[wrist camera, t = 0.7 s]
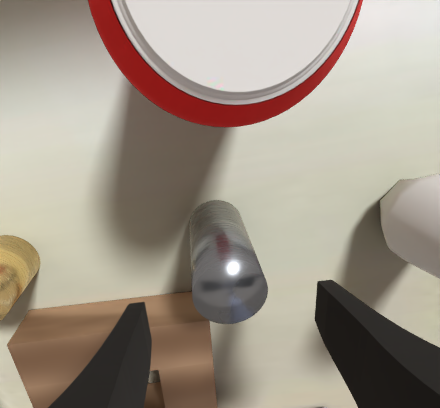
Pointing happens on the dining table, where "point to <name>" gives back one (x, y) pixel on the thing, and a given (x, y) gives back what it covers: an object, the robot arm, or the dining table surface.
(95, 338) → the hole block
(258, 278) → the long pin
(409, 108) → the dining table surface
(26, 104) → the dining table surface
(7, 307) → the short pin
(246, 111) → the beverage can
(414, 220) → the salt shaker
